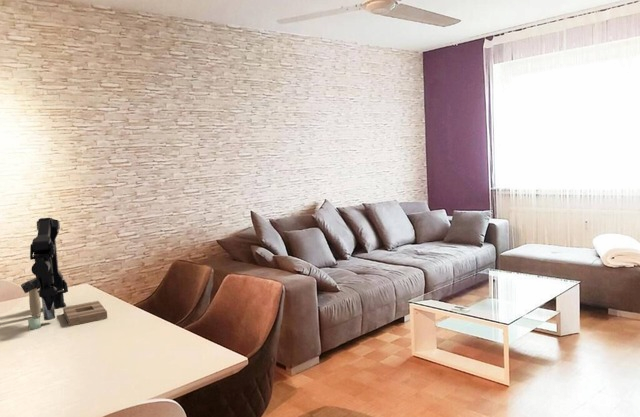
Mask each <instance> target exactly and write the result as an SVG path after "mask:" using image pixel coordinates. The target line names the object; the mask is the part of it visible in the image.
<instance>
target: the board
mask: <svg viewBox="0 0 640 417" xmlns="http://www.w3.org/2000/svg"><path fill="white" fill-rule="evenodd" d="M62 310H63V315H64V317H65V319H66V321H67V324H68V326H69V327H73V326H77V325H81V324H82V325H83V324H86V323H91V322H96V321H101V320H107V319H108V312H107V310H106V308H105V307H104V306H103V305H102V303H101V302H100V301H99V300H95V301H91V302H90V301H89V302H84V303H78V304H74V305H68V306H67V305H66V306H65V307H62Z"/></svg>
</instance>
